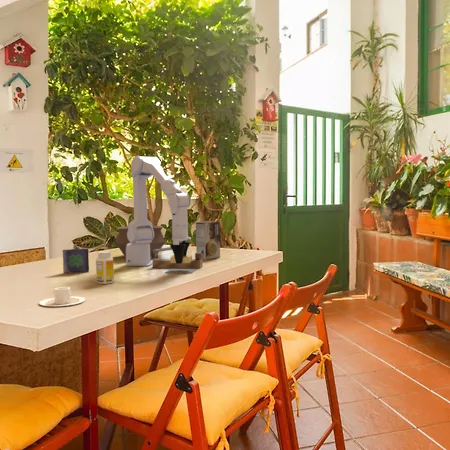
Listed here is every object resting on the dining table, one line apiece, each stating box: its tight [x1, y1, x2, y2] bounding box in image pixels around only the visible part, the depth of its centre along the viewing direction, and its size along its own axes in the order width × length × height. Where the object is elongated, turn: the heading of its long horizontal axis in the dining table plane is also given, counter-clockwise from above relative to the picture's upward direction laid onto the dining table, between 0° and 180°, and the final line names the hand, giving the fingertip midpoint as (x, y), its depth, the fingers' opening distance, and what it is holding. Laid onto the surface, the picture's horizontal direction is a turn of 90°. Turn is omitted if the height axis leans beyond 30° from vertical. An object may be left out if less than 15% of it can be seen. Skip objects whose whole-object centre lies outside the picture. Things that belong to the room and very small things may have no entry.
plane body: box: [151, 252, 204, 269], centre depth 195 cm, size 19×4×6 cm, turn 82°
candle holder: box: [38, 286, 86, 307], centre depth 135 cm, size 12×12×4 cm
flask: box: [62, 243, 90, 275], centre depth 186 cm, size 9×3×11 cm, turn 109°
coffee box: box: [195, 220, 221, 260], centre depth 221 cm, size 9×6×16 cm
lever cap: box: [169, 254, 193, 263], centre depth 184 cm, size 7×5×2 cm
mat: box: [164, 268, 197, 274], centre depth 185 cm, size 10×8×1 cm
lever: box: [153, 246, 173, 259], centre depth 201 cm, size 15×2×4 cm, turn 147°
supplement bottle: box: [95, 250, 115, 285], centre depth 163 cm, size 6×6×10 cm
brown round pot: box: [115, 225, 166, 259], centre depth 228 cm, size 24×24×16 cm
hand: (180, 262), depth 184 cm, fingers closed on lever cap, 5 cm apart
